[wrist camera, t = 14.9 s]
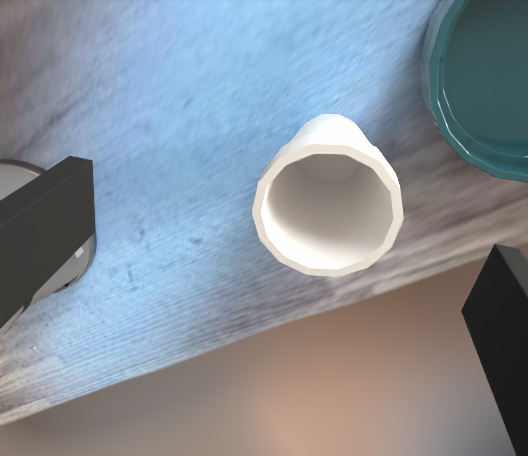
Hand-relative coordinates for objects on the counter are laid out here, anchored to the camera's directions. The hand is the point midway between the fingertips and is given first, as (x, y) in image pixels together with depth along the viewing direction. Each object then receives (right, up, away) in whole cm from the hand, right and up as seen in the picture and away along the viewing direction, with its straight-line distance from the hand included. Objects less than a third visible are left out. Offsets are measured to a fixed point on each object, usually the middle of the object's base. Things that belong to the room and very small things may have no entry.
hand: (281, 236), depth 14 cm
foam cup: (+5, +7, +25) cm, 26 cm away
